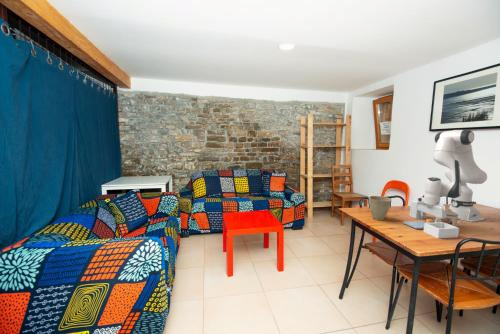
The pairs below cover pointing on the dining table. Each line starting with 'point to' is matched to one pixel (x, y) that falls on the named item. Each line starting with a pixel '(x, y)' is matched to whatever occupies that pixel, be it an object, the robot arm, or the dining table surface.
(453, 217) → the teacup with lid
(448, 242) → the dining table surface
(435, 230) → the tub
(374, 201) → the plant pot
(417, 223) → the lid
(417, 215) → the supplement box
